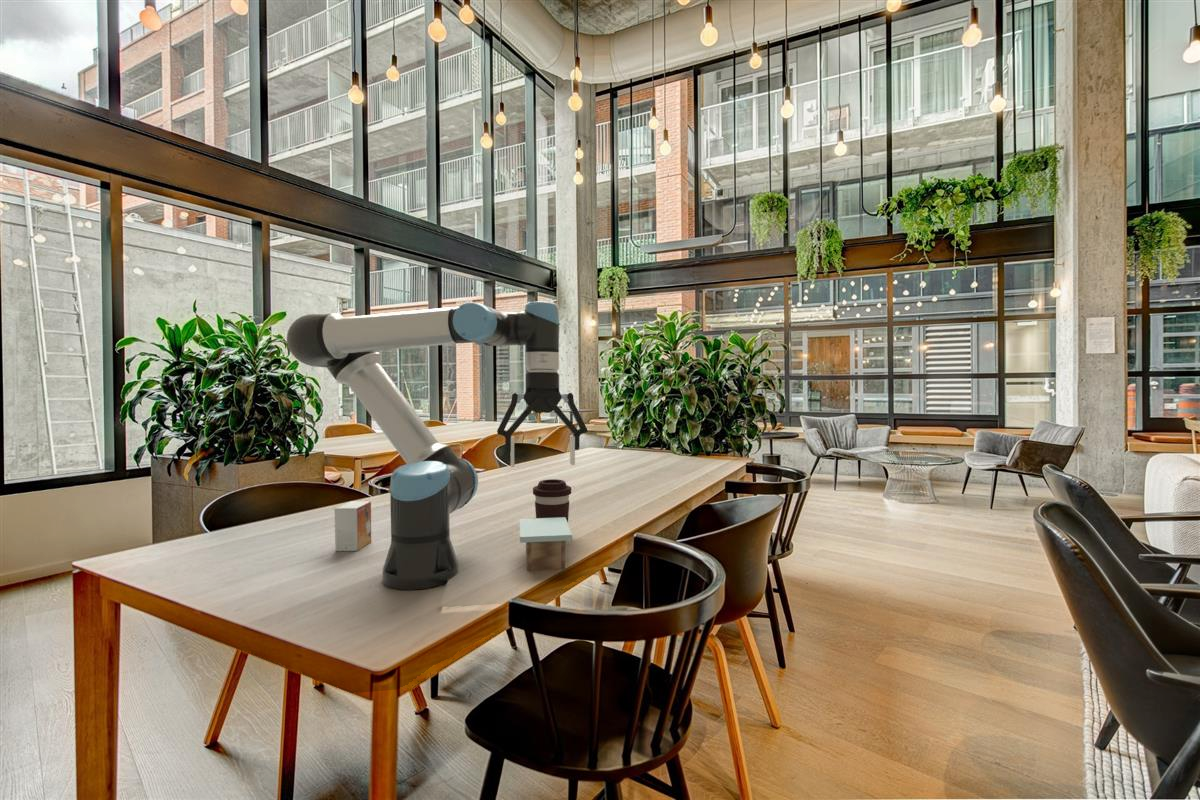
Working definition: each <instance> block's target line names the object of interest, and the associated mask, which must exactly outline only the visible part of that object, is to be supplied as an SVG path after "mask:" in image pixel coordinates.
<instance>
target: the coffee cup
mask: <svg viewBox="0 0 1200 800" xmlns="http://www.w3.org/2000/svg"><path fill="white" fill-rule="evenodd" d="M571 494H572V487H571V486H570V485H567V483H566V480H562V479H554V478H553V479H552V478H551V479H550V478H549V479H543V480H540V481H538V484H537V485H536V486H534V487H533V488H532V495H533V496H534V497H535V502H534V507H535V509H534V511H535V518H559V517H566V520H567V523H568V524H569V512H570V511H569V510H570V500H569V499H570V495H571Z"/></svg>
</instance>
